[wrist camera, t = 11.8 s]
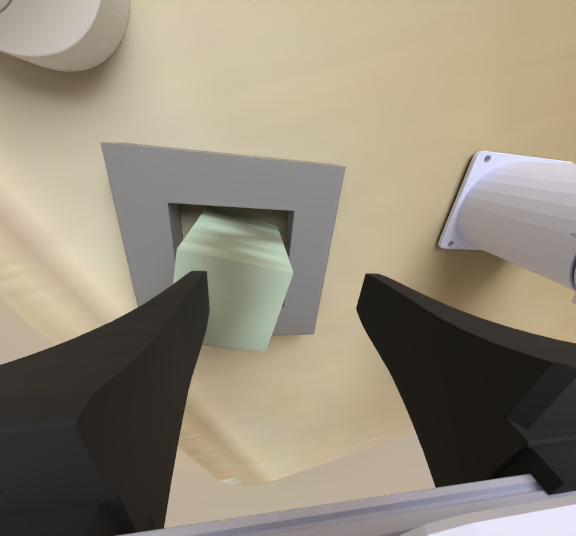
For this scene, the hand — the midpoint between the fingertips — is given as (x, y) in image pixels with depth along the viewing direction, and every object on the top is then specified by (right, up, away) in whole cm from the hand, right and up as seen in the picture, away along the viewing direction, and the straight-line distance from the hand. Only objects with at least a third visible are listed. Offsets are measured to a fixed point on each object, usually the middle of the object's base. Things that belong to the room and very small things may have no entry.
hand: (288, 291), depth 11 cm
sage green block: (-4, +3, +9) cm, 10 cm away
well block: (-4, +3, +8) cm, 10 cm away
